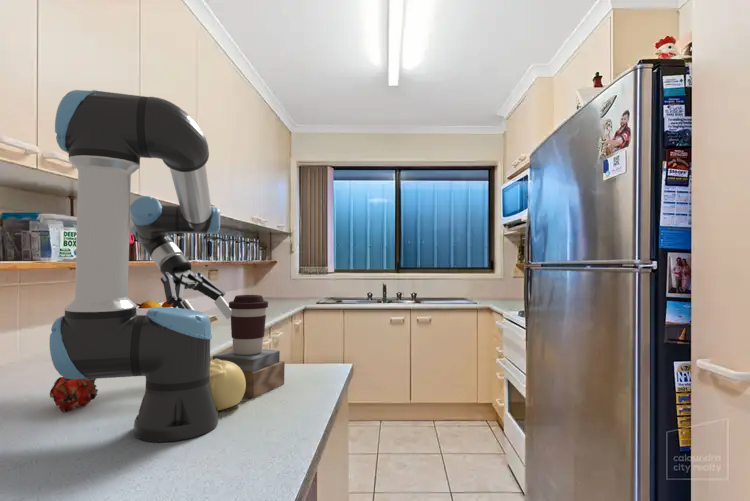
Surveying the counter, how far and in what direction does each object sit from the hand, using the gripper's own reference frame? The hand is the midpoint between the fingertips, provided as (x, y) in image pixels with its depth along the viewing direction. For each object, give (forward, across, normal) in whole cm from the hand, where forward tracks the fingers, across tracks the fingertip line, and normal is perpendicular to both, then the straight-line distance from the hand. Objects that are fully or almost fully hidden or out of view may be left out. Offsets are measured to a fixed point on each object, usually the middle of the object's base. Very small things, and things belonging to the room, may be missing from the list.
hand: (214, 318), depth 119 cm
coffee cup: (+13, 0, +1) cm, 14 cm away
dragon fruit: (+2, +27, -23) cm, 36 cm away
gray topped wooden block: (+20, 0, -5) cm, 20 cm away
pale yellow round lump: (+22, +15, -3) cm, 27 cm away
